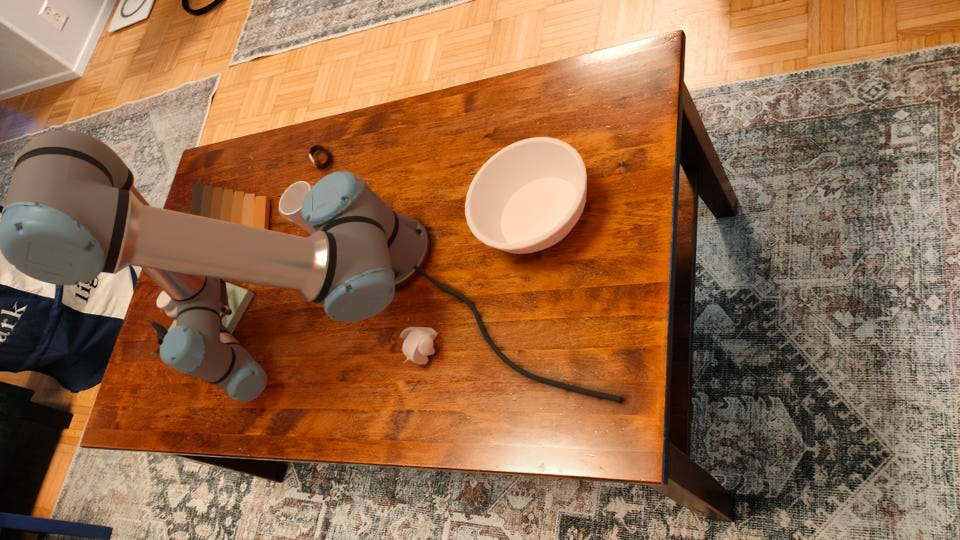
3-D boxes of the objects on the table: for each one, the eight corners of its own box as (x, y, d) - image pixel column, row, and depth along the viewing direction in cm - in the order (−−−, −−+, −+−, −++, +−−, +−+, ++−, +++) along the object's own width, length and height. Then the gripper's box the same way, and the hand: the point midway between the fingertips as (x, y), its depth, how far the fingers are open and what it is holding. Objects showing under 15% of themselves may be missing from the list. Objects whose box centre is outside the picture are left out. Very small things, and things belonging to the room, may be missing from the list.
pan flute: (199, 192, 172) (189, 271, 159) (189, 185, 170) (178, 265, 156) (274, 154, 165) (270, 234, 151) (264, 146, 162) (260, 226, 149)
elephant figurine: (453, 342, 115) (436, 329, 110) (426, 379, 114) (408, 368, 109) (429, 324, 119) (411, 311, 114) (402, 361, 118) (384, 349, 113)
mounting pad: (254, 293, 144) (248, 290, 143) (212, 368, 140) (205, 365, 138) (208, 276, 155) (201, 273, 153) (167, 346, 150) (160, 343, 148)
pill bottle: (219, 311, 147) (179, 290, 138) (204, 334, 146) (162, 315, 137) (206, 302, 151) (166, 281, 142) (190, 325, 149) (149, 305, 141)
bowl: (512, 158, 128) (494, 131, 121) (619, 169, 115) (605, 141, 108) (466, 259, 122) (444, 237, 115) (574, 283, 109) (556, 260, 102)
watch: (311, 157, 157) (301, 148, 154) (326, 145, 157) (317, 136, 154) (320, 176, 153) (310, 167, 150) (335, 163, 152) (326, 154, 149)
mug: (299, 245, 145) (261, 218, 135) (310, 212, 148) (274, 183, 139) (341, 242, 139) (303, 214, 130) (351, 208, 142) (316, 177, 133)
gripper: (191, 403, 134) (154, 351, 147) (269, 305, 136) (226, 263, 149) (161, 392, 128) (125, 339, 141) (243, 290, 130) (200, 247, 144)
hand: (177, 300), depth 145 cm, fingers open, 13 cm apart
